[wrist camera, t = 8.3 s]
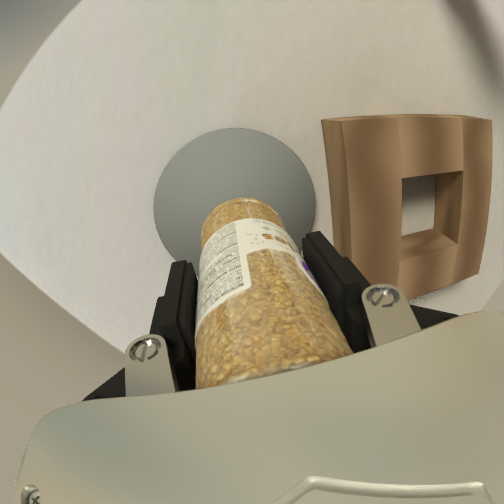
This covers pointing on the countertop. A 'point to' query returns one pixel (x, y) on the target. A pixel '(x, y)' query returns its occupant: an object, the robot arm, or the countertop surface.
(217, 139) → the slate coaster
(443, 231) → the walnut pocket block
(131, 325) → the countertop surface
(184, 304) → the robot arm
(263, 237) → the sprinkles bottle
